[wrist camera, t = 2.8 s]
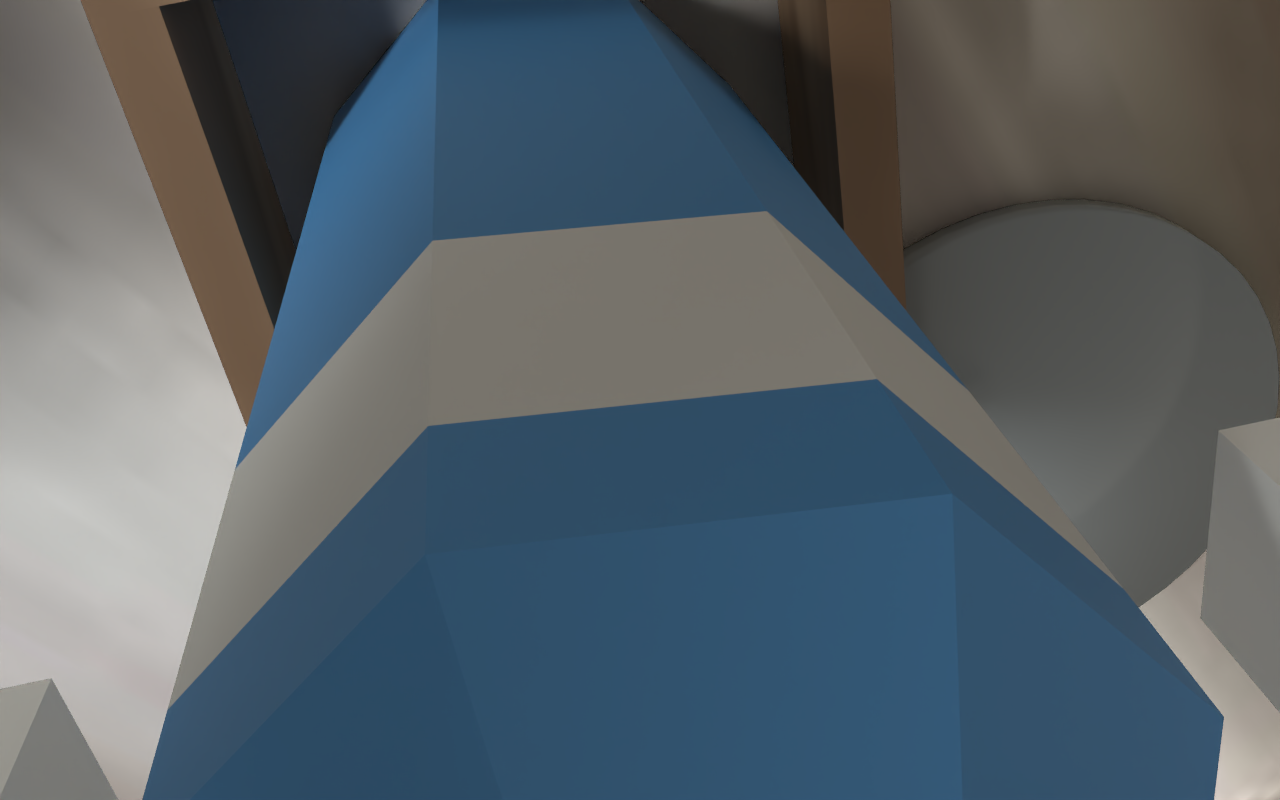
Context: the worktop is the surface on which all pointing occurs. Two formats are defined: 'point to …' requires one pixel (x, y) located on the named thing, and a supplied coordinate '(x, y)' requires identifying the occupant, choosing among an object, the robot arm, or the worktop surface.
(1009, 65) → the worktop surface
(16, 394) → the worktop surface
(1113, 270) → the coaster
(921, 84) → the worktop surface
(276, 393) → the water bottle
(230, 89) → the square wooden frame
